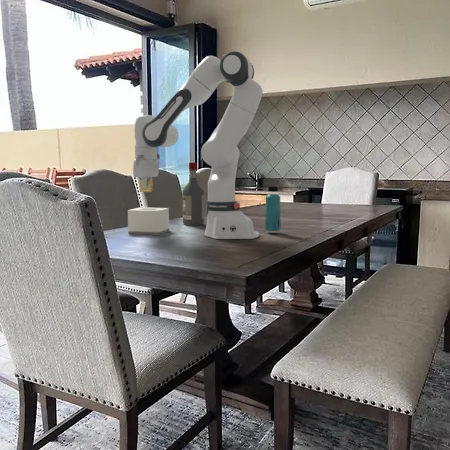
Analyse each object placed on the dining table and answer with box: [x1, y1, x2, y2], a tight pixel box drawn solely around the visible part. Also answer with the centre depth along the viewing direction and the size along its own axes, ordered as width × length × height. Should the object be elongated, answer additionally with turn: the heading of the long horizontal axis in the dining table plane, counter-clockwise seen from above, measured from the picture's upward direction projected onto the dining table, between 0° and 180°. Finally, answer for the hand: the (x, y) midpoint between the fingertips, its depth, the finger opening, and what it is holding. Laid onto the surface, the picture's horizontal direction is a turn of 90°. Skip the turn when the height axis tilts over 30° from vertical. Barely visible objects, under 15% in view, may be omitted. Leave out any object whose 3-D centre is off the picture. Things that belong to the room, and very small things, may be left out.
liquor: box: [181, 162, 205, 227], centre depth 217 cm, size 9×9×30 cm
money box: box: [127, 207, 170, 236], centre depth 194 cm, size 14×12×10 cm
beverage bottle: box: [264, 185, 282, 232], centre depth 188 cm, size 6×7×20 cm
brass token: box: [139, 179, 154, 193], centre depth 190 cm, size 5×2×5 cm, turn 78°
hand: (146, 187), depth 190 cm, fingers closed on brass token, 2 cm apart
